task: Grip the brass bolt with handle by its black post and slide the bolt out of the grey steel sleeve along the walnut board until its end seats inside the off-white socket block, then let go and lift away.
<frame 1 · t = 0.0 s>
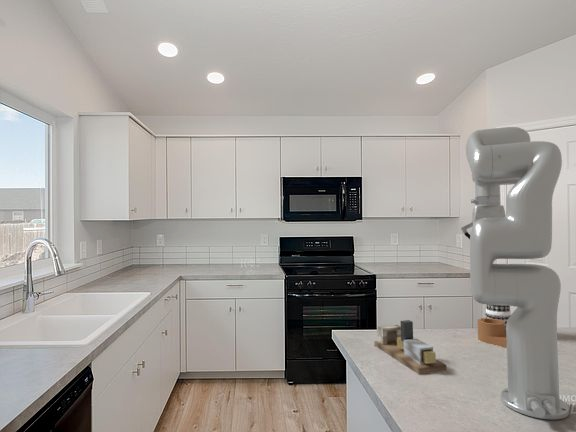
hand: (489, 251, 123), 31 cm above the counter, tool pointing down, fingers open, 9 cm apart
brass bolt with handle: (414, 339, 106), point 7 cm above the counter, slide at 0.0 cm
bracket: (506, 345, 120), on the counter
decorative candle: (498, 334, 131), on the counter
sliding bolt latch: (402, 354, 112), on the counter
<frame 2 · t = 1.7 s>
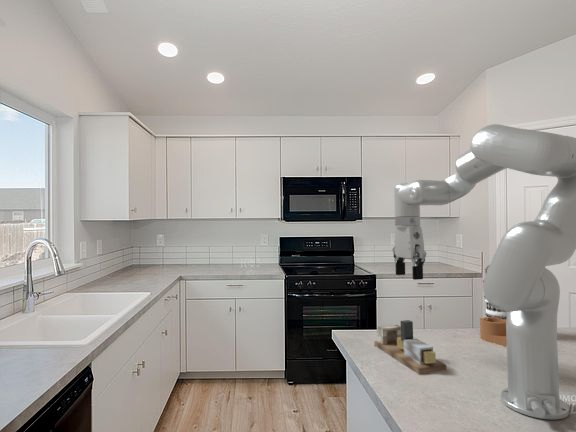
hand: (408, 277, 111), 25 cm above the counter, tool pointing down, fingers open, 9 cm apart
bracket: (508, 344, 120), on the counter
everything else where it was.
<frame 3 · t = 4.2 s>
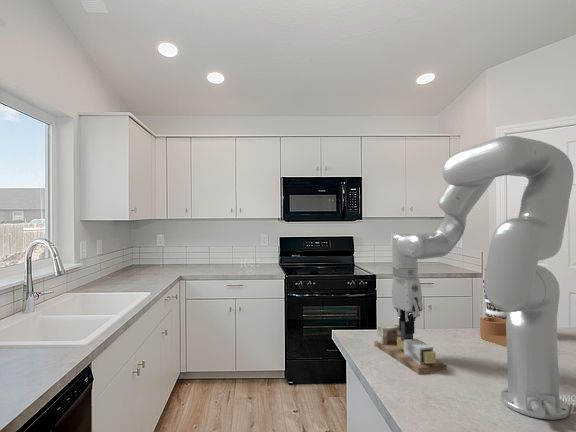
hand: (406, 332, 110), 8 cm above the counter, tool pointing down, fingers closed on brass bolt with handle, 2 cm apart
brass bolt with handle: (414, 339, 106), point 7 cm above the counter, slide at 0.0 cm, touching gripper
everything else where it was.
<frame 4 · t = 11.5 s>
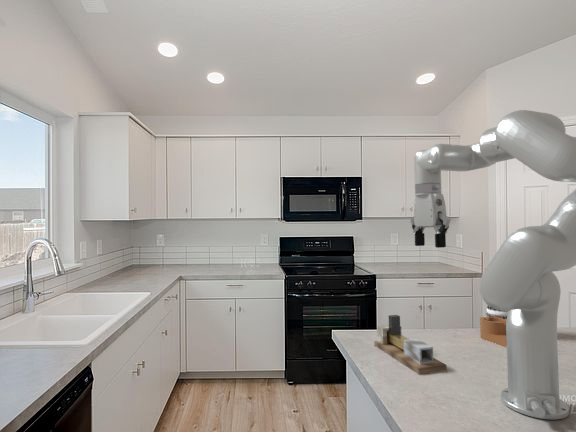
hand: (429, 246, 108), 34 cm above the counter, tool pointing down, fingers open, 9 cm apart
brass bolt with handle: (401, 332, 113), point 7 cm above the counter, slide at 7.0 cm
at the end: brass bolt with handle slide at 7.0 cm; the gripper is holding nothing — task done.
